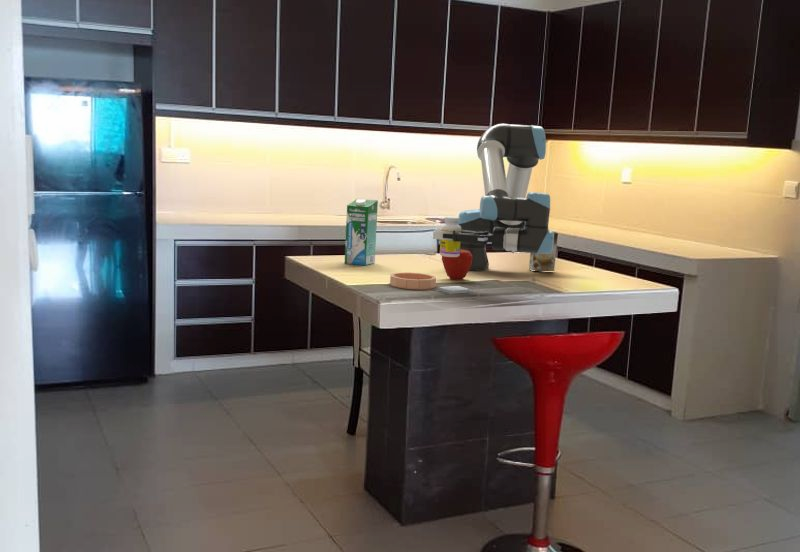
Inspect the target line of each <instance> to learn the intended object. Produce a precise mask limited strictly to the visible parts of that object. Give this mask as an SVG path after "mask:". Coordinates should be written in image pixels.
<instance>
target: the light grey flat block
mask: <svg viewBox="0 0 800 552" xmlns="http://www.w3.org/2000/svg"><path fill="white" fill-rule="evenodd" d="M438 289H439V291H443V292H446V293H450V294H452V295H456V294H455V293H467V292H470V291H471V288H467V287H463V286H460V285H451V286H450V285H449V286H441V287H440V286H439V287H438Z"/></svg>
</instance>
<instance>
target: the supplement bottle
mask: <svg viewBox="0 0 800 552" xmlns="http://www.w3.org/2000/svg"><path fill="white" fill-rule="evenodd" d="M458 222H459V216H445V217H444V224H442V225H441V228H440V229H441V231H447V232H453V230H455V233H461V226H459V225H458ZM457 238H458V236H457ZM439 242H440V245H439V255H440V256H441V257H442V256H445V257H458V256H459V255H460V242H458V241H456V242H454V241H453V240H441V239H440V241H439Z"/></svg>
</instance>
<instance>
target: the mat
mask: <svg viewBox="0 0 800 552" xmlns="http://www.w3.org/2000/svg"><path fill="white" fill-rule="evenodd" d="M430 290H432V291H434V292H437V293H440V294H443V295H446V296H448V295H453V294H450V293H446V292H443V291H439V288H438V289H437V288H436V289H435V288H432V289H430ZM467 294H468V295H470V294H477V292H475V291H472V290H470V292H467V293H455V294H454V295H467Z"/></svg>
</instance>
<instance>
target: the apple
mask: <svg viewBox="0 0 800 552" xmlns="http://www.w3.org/2000/svg"><path fill="white" fill-rule="evenodd" d="M441 262H442V264H443V268H444V271H445V274H446V276H447V277H448V278H449V279H450V280H455V281H457V280H458V281H461V280H464V279H465V277H466V276H467V274H468V272H469V271H470V270H469V269H470V267H471V264H472V262H473V256H472V254H471V253H470V251H467V250H463V249H460V255H459V256H458V257H445V256H441Z"/></svg>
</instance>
